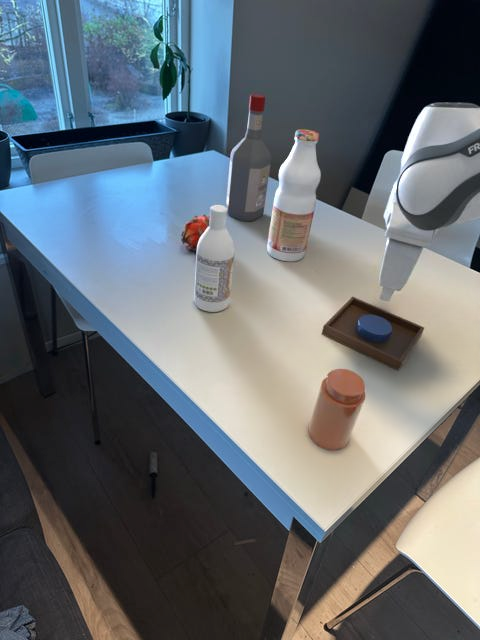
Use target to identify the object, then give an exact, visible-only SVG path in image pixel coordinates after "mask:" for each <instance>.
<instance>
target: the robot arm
mask: <svg viewBox="0 0 480 640" xmlns="http://www.w3.org/2000/svg"><path fill="white" fill-rule="evenodd" d="M399 170H400V171H399V175H398V177H397V179H396V180H395V181H394V183H393V185H392V188H391V191H390V194H389V197H388V200H387V203H386V207H385V210H384V212H383V219H384V221H385V231H384V232H385V233H384V237H385V238H386V242H385V247H384V248H385V249H384V252H383V258H382V263H381V267H380V271H379V276H378V277H379V278H378V285H379V286H380V287H381V291H380V294H379V300H380V301H382V302H386V303H389V302H391V299H392V297H393V294H394V293H395V292H400V291H402V290H403V289H404V288H405V286H406V284H407V282H408V280H409V279H410V277H411V275H412V272H413V271H414V269H415V267H416V265H417V263H418V260H419V259H420V257H421V255H422V253H423V250H424V248H428V247H429V246H430V244H431V242H432V240H433V238H434V236H435V235H436V234H437V233H438V232H439V231H440V229H442V228H443V229H444V228H446V227H449V226H451V225H458V224H464V223H470V222H474V221H475V222H476V221H480V106H479V105H477V104H475V103H471V102H437V101H436V102H433V103H429V104H428V105H426V106H424V107H423V109H422V110H421V112H419V114H418V116H417V118H416V119H415V121H414V124H413V126H412V128H411V131H410V133H409V136H408V137H407V141H406V144H405V146H404V150H403V153H402V156H401V160H400V169H399Z"/></svg>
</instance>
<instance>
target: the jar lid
mask: <svg viewBox="0 0 480 640" xmlns="http://www.w3.org/2000/svg"><path fill="white" fill-rule="evenodd" d="M391 331H392V326H391V324H390V323H389V322H388V321H387V320H386V319H384V318H382V317H380V316H376V315H364V316H362V317H361V318H360V319H359V321H358V323H357V332H358V334H359V335H360V336H361V337H363V338H364V339H366V340H368V341H371V342H376V343H381V342H385V341H387V340H388V339H389V337H390V335H391Z"/></svg>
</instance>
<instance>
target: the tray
mask: <svg viewBox="0 0 480 640" xmlns="http://www.w3.org/2000/svg"><path fill="white" fill-rule="evenodd" d="M364 315H376V316H380V317H382V318H384V319H386V320H387V321H388V322H389V323H390V324H391V326H392V331H391V335H390V337H389V339H388V340H387V341H385V342H381V343H376V342H371V341H368V340H366V339H364V338H363V337H361V336H360V335H359V334H358V332H357V323H358V321H359V319H360V318H361V317H362V316H364ZM424 330H425V327H424V326H422V325H420V324H418V323H415V322H413V321H411V320H408V319H406V318H404V317H401V316H399V315H396V314H395V313H392V312H390V311H388V310H385V309H383V308H381V307H378V306H375V305H373V304H371V303H369V302H367V301H364V300H362V299H360V298H357V297H355V296H352V297H351V296H350V299H348V301H346V302H345V304H343V305H342V306H341V307H340V309H339V310H338V311H336V313H335V314H334V315H332V317H331V318H329V320H328V321H326V323H325V324H323V327H322V331H321V335H323V336H325V337H327V338H329V339H331V340H333V341H334V342H337V343H340V344H341V345H343V346H346V347H348V348H350V349H352V350H354V351H356V352H358V353H359V354H362V355H364V356H367V357H368V358H370V359H372V360H374V361H377V362H379V363H381V364H382V365H385V366H387V367H389V368H390V369H393V370H395V371H397V372H400V369H402V367H403V365H404V363H405V362H406V360H407V359H408V357H409V356H410V354H411V353H412V351H413V349H414V348H415V346H416V345H417V343H418V341H419V340H420V339H421V337H422V335H423V332H424Z"/></svg>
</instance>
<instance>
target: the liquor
mask: <svg viewBox="0 0 480 640" xmlns="http://www.w3.org/2000/svg"><path fill="white" fill-rule="evenodd" d="M265 104H266V95H263V94H256V93H252V94H250V95H249V103H248V117H247V118H248V119H247V127H246V132H245V135H244V136H243V137H244V138H242V139H241V140H240V141H239V142H238V143H237V144H236V145H235V146H234V147H233V148H232V150H231V152H230V157H229V168H228V179H227V189H226V191H227V192H226V200H225V201H226V202H225V207H226V208H227V214H228V216H229V217H231V218H234V219H237V220H239V221H243V222H254V221H256V220H257V219H258V218H261V217H262V216H263V214H264V212H265V205H266V198H267V191H268V184H269V178H270V172H271V171H270V170H271V163H272V154H271V151H270V150H269V149H268V147H267V146H266V144H265V143H264V140H263V139H262V125H263V116H264V111H265Z"/></svg>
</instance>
